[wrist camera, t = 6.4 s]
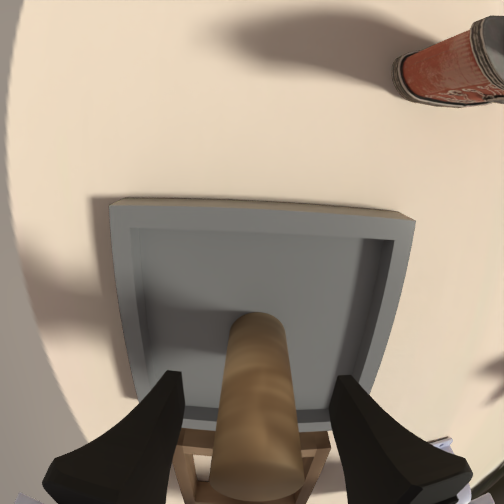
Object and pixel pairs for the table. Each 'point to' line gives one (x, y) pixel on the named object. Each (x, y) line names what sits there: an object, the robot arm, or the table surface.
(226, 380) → the pin
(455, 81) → the lighter
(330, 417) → the robot arm
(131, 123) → the table surface
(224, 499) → the holder
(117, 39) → the table surface
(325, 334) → the tray
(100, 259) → the table surface
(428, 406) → the table surface
